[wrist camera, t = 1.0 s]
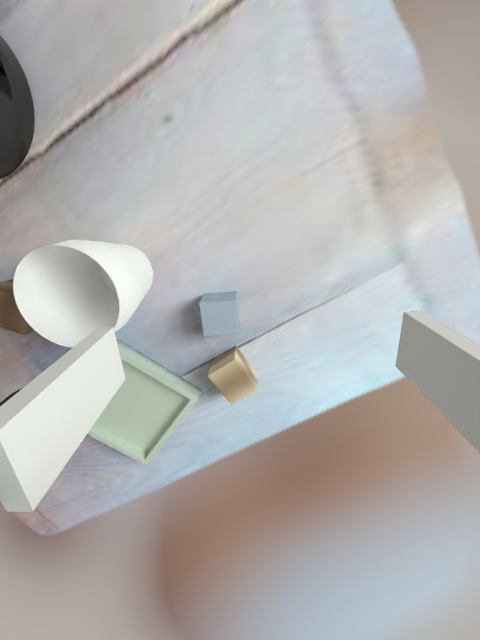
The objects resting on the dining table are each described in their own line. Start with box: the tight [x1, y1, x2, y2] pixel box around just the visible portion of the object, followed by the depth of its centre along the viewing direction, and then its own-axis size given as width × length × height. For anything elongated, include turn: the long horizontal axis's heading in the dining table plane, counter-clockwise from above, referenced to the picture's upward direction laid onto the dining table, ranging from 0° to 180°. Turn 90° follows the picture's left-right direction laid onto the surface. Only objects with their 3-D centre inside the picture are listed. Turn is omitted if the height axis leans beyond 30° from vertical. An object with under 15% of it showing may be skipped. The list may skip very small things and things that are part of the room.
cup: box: [13, 240, 153, 347], centre depth 29 cm, size 9×9×12 cm
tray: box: [87, 339, 201, 466], centre depth 40 cm, size 15×15×2 cm
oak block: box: [208, 346, 258, 405], centre depth 37 cm, size 5×4×4 cm
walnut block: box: [0, 279, 34, 335], centre depth 34 cm, size 4×4×4 cm
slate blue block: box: [199, 291, 239, 336], centre depth 34 cm, size 4×4×4 cm
